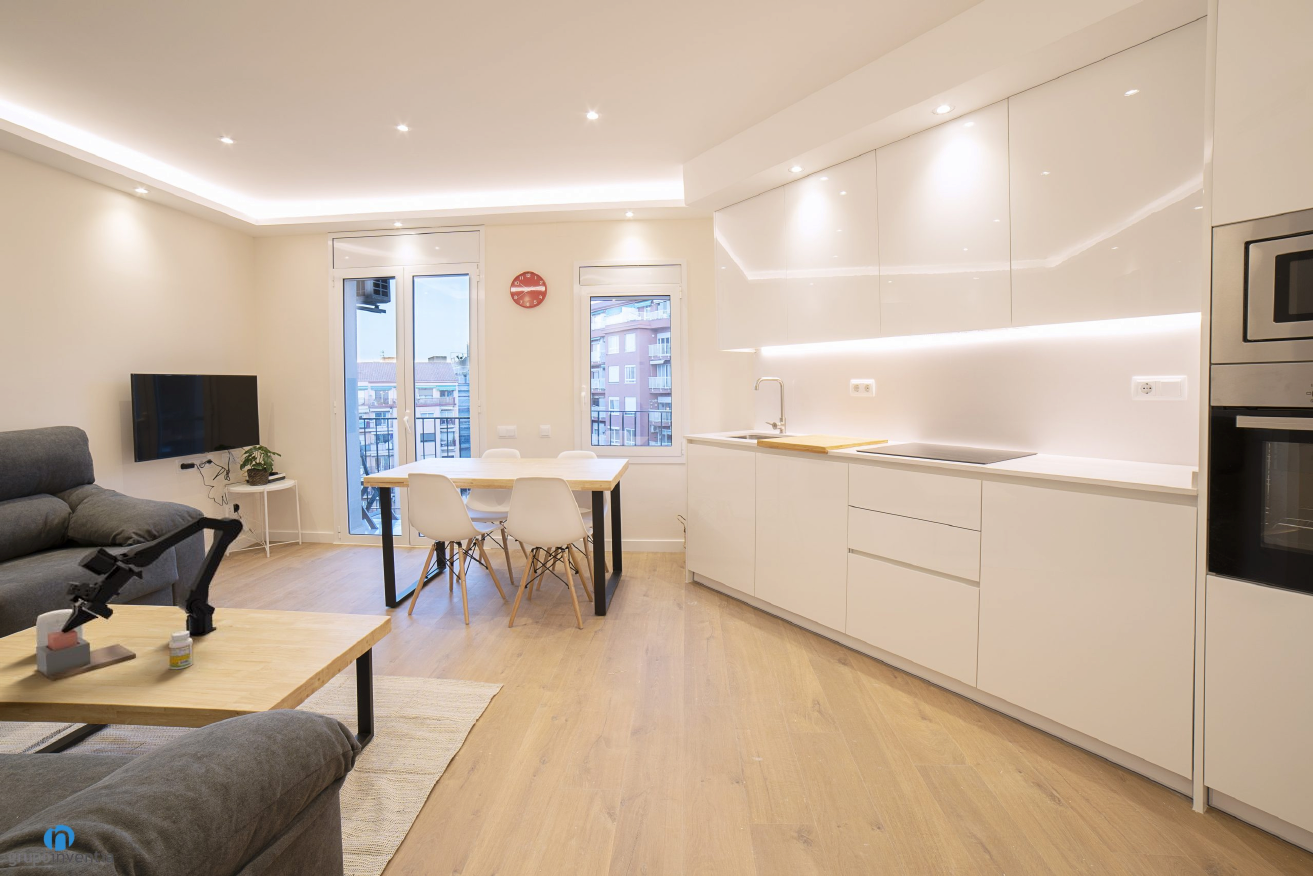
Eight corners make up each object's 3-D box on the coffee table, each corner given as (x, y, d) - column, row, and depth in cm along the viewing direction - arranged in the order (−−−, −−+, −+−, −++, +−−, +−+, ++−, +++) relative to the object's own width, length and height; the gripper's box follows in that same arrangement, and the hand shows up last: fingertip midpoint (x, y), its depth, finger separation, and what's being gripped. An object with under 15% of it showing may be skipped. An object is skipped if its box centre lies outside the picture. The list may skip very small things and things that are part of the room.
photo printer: (85, 643, 187) (83, 605, 187) (81, 648, 184) (79, 609, 183) (39, 650, 182) (37, 611, 181) (35, 655, 178) (33, 615, 178)
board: (118, 647, 184) (118, 643, 184) (136, 657, 177) (135, 653, 177) (37, 669, 169) (36, 665, 169) (52, 681, 162) (52, 676, 162)
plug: (72, 648, 172) (71, 628, 172) (78, 652, 169) (77, 632, 169) (48, 654, 168) (47, 634, 167) (54, 658, 165) (53, 637, 165)
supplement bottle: (178, 662, 174) (177, 629, 174) (198, 661, 174) (196, 629, 174) (165, 670, 169) (163, 637, 168) (185, 669, 169) (183, 636, 169)
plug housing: (80, 656, 175) (79, 636, 175) (90, 663, 170) (89, 643, 170) (37, 667, 167) (36, 647, 167) (46, 675, 163) (45, 654, 162)
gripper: (74, 565, 177) (23, 612, 168) (96, 574, 167) (43, 625, 158) (110, 584, 184) (63, 630, 175) (133, 594, 174) (84, 643, 165)
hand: (62, 632), depth 168 cm, fingers closed, pressing on plug
